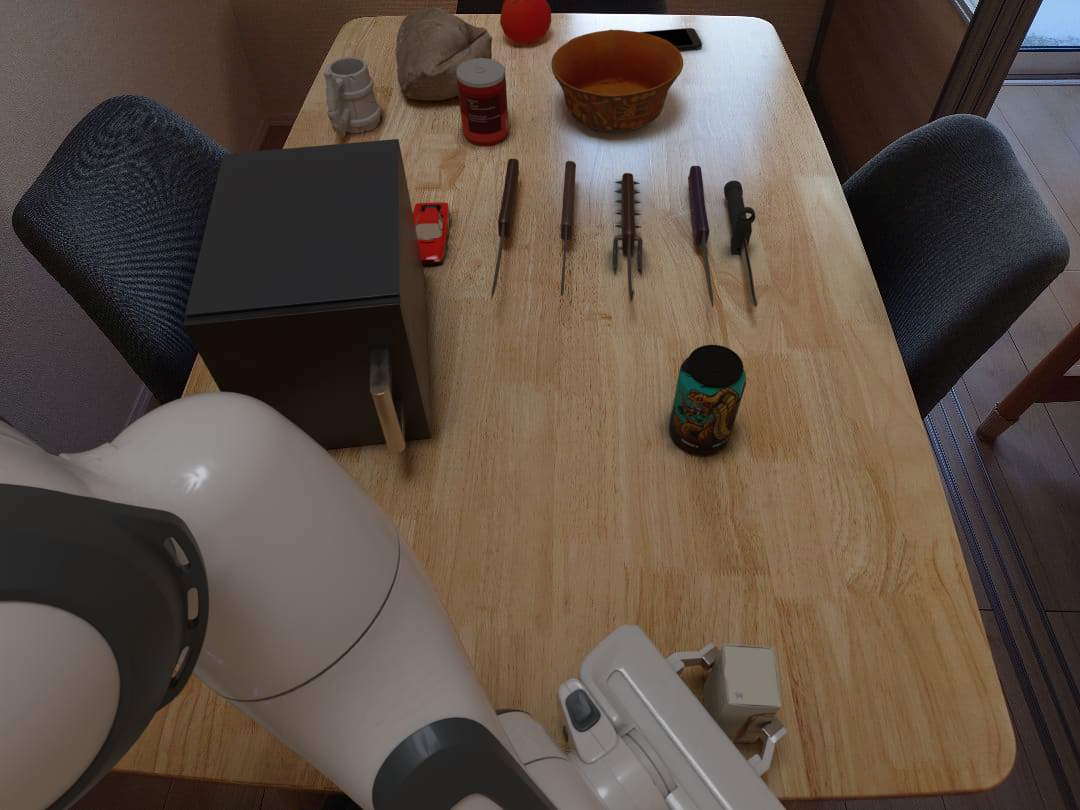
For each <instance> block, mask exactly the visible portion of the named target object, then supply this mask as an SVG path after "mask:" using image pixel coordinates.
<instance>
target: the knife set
mask: <svg viewBox="0 0 1080 810" xmlns="http://www.w3.org/2000/svg"><path fill="white" fill-rule="evenodd" d="M564 166H565V167H564V179H563V180H564V181H563V194H562V206H561V220H560V239H561V240H562V241H564V242H563V255H562V267H561V280H560V281H561V282H560V283H561V284H560V296H561V297H563V296H564V289H565V274H566V260H567V258H566V257H567V243H568V241H571V240H572V238H573V226H574V225H573V224H574V208H575V190H576V176H577V175H576V174H577V173H576V172H577V164H576V162H574V161H572V160H566V162H565V165H564ZM702 172H703V171H702V167H701V166H700V165H691V166H690V167H689V173H688V176H687V185H688V195H689V206H690V208H689V209H690V218H691V226H692V232H693V239H694V244H695V246H698V247H699V248H700V252H702V258H703V266H704V272H705V278H706V286H707V290H708V291H707V292H708V296H709V301H710V304H711V307H712V308H713V307H714V295H713V286H712V278H711V272H710V271H711V270H710V263H709V262H710V261H709V257H708V248H707V244H708V239H709V235H710V226H709V220H708V216H707V210H706V209H707V208H706V201H705V193H704V182H703V181H704V180H703V173H702ZM519 176H520V163H519V159H517V158H508V160H507V165H506V172H505V179H504V185H503V191H502V199H501V205H500V210H499V213H498V219H497V228H498V229H497V230H498V231H497V233H498V237H500V238H499V246H498V252H497V258H496V263H495V271H494V275H493V281H492V282H493V283H492V288H491V297H490V298H491V299H490V301H491V300H492V299H493V297H494V295H495V292H496V289H497V283H498V279H499V278H498V277H499V273H500V267H501V261H502V256H503V249H504V243H505V239H508V238H510V236H511V232H512V228H513V227H512V226H513V221H514V214H515V207H516V206H515V205H516V198H517V191H518V183H519ZM614 183H615V184H619V185H620V186H621V188H620V190H616V191H614V193H617V194H621V199H618V200H614V201H613V202H615V203H618V204H620V205H621V211H618V212H614V214H615V215H619V216H621V224H616V225H615V227H616V228H619V229H621V235H616V236H615V237H614V238H613V241H612V242H613V243H612V244H613V245H612V268H613V269H614V270H616V269H617V267H618V246H619V241H621V249H622V251H623V252H626V257H627V285H628V287H627V288H628V294H629V297H628V298H629V301H630V303H632V302H633V299H634V295H635V291H634V290H633V285H632V282H633V281H632V259H631V258H632V257H631V253H632V252H633V251H634V248H635V242H637V252H636V253H637V254H636V255H637V269H638V270H639V271H642V270H643V238H642V237H641V236H637V235H636V229H640V228H642V226H639V225H636V223H635V222H636V221H635V219H636V218H635V217H636V216H641V215H643V214H642V213H639V212H635V205H636V204H641V203H642V202H641V201H637V200H635V195H638V194H641V192H639V191H636V190H635V188H634V187H635V185H640V184H641V182H639V181H634V174H633V173H631V172H625V173H623V174H622V176H621V180H617V181H614ZM723 195H724V198H725V200H726V205H727V210H728V211H727V212H728V217H729V223H730V228H731V238H730V253H731V254H732V255H733V254H734V255H735V254H736V255H740V256H741V261H742V266H743V271H744V279H745V284H746V291H747V297H748V300H749V304H750V305H751V306H753V307H754V308H757V307H758V301H757V297H756V291H755V284H754V277H753V270H752V265H751V259H750V254H749V248H748V247H749V244H750V240H751V236H752V232H753V226H752V224H753V223H754V222H755V221H756V212H755V210H754V208H753V207H750V206H745V203H744V197H743V196H744V191H743V186H742V183H741V182H740V181H739V180H734V179H733V180H730V181H727V182H726V183H725V184H724V186H723ZM747 214H750V216H749V217H747Z"/></svg>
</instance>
